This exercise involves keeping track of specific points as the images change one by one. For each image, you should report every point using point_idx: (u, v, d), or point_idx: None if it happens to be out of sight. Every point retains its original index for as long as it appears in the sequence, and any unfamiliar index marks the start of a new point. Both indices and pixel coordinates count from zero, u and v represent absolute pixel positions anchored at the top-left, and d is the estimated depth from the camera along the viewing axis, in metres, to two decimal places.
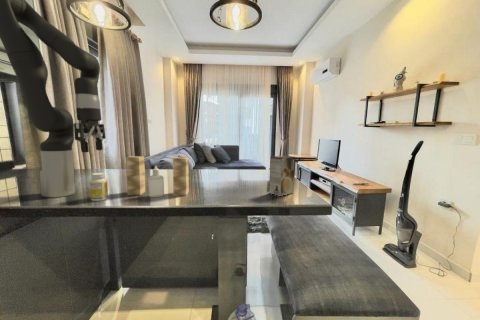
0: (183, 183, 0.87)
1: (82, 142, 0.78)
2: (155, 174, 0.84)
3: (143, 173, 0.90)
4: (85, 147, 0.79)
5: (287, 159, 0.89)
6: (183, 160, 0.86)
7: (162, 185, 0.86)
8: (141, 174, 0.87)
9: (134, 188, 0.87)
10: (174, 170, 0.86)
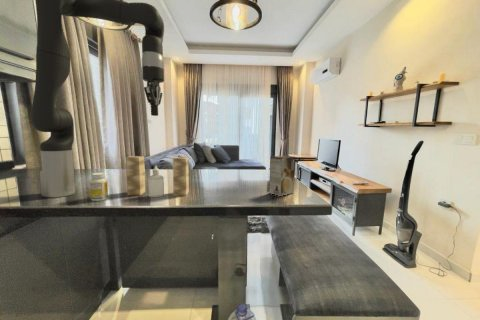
0: (183, 183, 0.87)
1: (153, 105, 0.81)
2: (155, 174, 0.84)
3: (143, 173, 0.90)
4: (155, 110, 0.82)
5: (287, 159, 0.89)
6: (183, 160, 0.86)
7: (162, 185, 0.86)
8: (141, 174, 0.87)
9: (134, 188, 0.87)
10: (174, 170, 0.86)
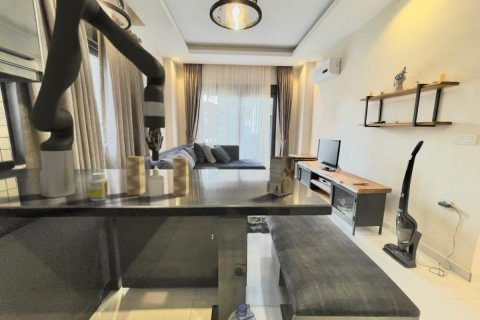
0: (183, 183, 0.87)
1: (154, 151, 0.83)
2: (155, 174, 0.84)
3: (143, 173, 0.90)
4: (156, 156, 0.84)
5: (287, 159, 0.89)
6: (183, 160, 0.86)
7: (162, 185, 0.86)
8: (141, 174, 0.87)
9: (134, 188, 0.87)
10: (174, 170, 0.86)
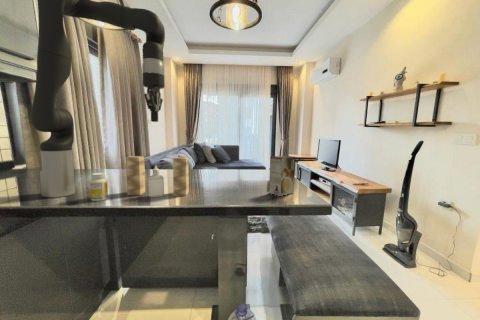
0: (183, 183, 0.87)
1: (153, 111, 0.81)
2: (155, 174, 0.84)
3: (143, 173, 0.90)
4: (155, 116, 0.82)
5: (287, 159, 0.89)
6: (183, 160, 0.86)
7: (162, 185, 0.86)
8: (141, 174, 0.87)
9: (134, 188, 0.87)
10: (174, 170, 0.86)
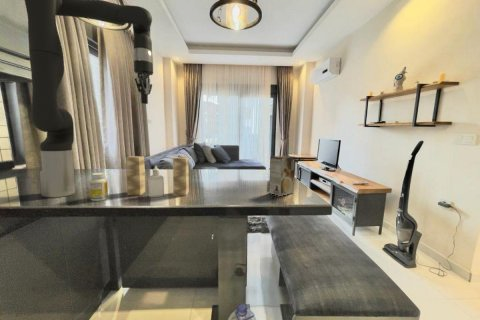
0: (183, 183, 0.87)
1: (143, 94, 0.94)
2: (155, 174, 0.84)
3: (143, 173, 0.90)
4: (145, 99, 0.94)
5: (287, 159, 0.89)
6: (183, 160, 0.86)
7: (162, 185, 0.86)
8: (141, 174, 0.87)
9: (134, 188, 0.87)
10: (174, 170, 0.86)
